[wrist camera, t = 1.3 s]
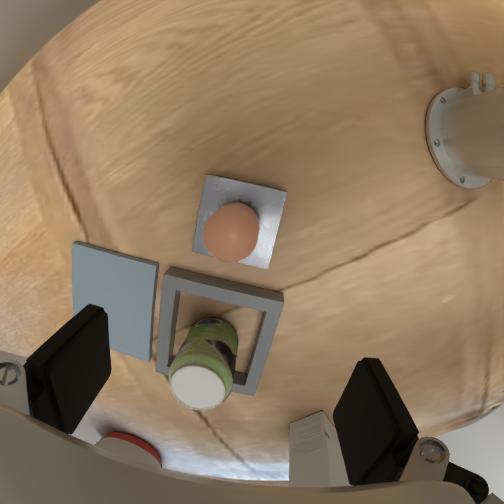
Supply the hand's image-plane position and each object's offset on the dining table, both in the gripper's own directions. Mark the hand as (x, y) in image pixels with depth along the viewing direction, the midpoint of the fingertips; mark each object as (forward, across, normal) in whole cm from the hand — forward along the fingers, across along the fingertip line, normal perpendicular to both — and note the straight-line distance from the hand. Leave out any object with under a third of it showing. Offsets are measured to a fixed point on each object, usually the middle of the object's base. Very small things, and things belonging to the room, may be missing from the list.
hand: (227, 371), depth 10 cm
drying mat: (+23, +16, +12) cm, 30 cm away
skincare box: (+23, -16, +28) cm, 39 cm away
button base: (+22, +1, -2) cm, 22 cm away
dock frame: (+22, +2, +12) cm, 26 cm away
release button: (+18, +1, -2) cm, 19 cm away
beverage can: (+23, +2, +12) cm, 26 cm away
